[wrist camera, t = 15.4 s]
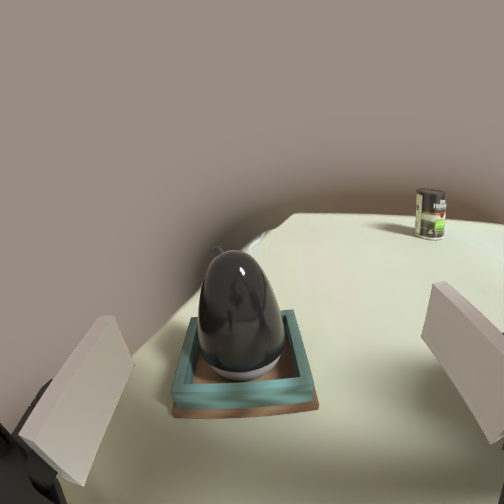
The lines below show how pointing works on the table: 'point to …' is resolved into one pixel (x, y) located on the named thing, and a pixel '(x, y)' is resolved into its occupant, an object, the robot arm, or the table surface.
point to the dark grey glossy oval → (239, 318)
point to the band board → (244, 382)
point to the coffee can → (430, 214)
